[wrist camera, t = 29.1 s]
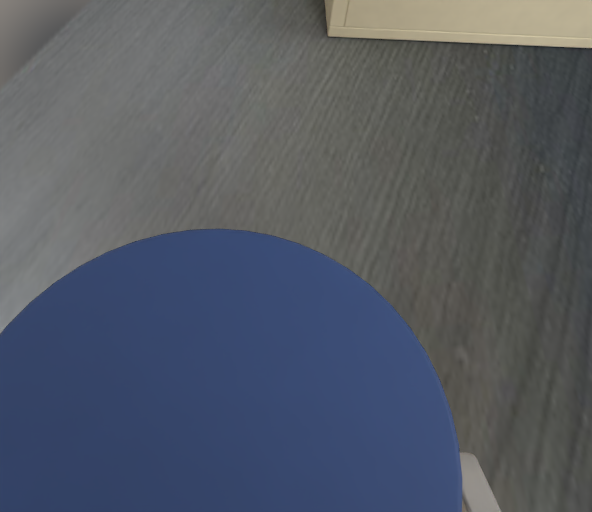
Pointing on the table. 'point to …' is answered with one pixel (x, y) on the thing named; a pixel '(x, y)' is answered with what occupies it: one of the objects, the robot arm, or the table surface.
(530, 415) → the table surface
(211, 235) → the blue pillar
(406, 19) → the cream tray
